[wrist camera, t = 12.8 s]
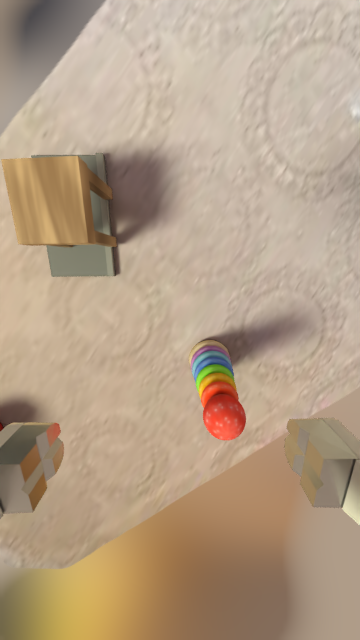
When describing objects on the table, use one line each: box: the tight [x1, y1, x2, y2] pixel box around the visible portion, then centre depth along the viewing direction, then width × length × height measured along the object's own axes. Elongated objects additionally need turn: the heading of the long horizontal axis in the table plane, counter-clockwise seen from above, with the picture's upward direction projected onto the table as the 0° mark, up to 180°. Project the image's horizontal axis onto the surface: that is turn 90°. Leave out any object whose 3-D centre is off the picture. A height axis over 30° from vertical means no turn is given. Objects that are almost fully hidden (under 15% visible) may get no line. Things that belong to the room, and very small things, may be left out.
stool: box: [1, 156, 117, 247], centre depth 29 cm, size 10×9×9 cm
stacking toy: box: [189, 340, 246, 440], centre depth 32 cm, size 8×8×19 cm
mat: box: [31, 153, 115, 277], centre depth 33 cm, size 11×18×1 cm, turn 0°
